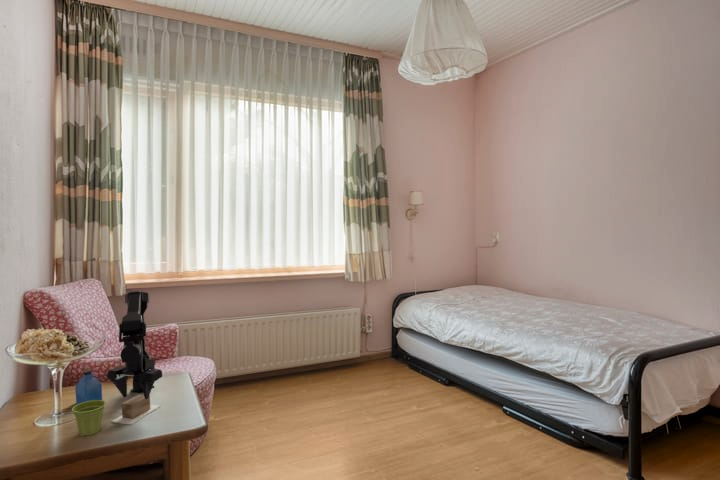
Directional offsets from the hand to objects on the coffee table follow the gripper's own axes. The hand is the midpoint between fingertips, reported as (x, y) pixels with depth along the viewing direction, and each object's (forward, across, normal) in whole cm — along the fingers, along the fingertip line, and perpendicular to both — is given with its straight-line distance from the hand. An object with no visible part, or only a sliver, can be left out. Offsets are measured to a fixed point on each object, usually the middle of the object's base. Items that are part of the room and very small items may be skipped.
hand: (135, 397), depth 154 cm
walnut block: (+6, 0, 0) cm, 6 cm away
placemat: (+6, 0, 0) cm, 6 cm away
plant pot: (+6, +6, +14) cm, 16 cm away
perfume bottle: (+6, +27, -6) cm, 28 cm away
